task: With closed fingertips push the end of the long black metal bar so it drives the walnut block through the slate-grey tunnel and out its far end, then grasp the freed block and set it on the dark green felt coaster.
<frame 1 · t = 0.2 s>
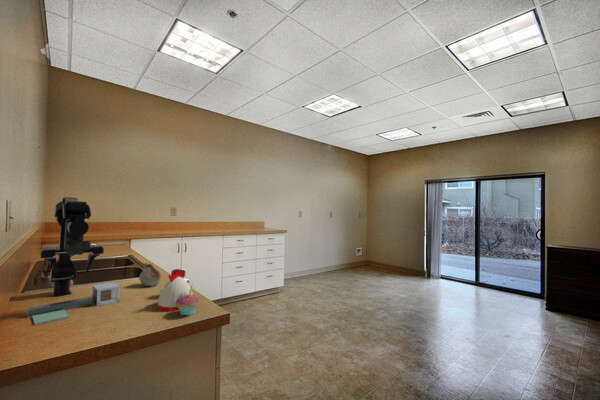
hand: (72, 273, 108), 14 cm above the counter, fingers open, 9 cm apart
cupcake: (186, 314, 109), on the counter
bar: (63, 310, 109), on the counter
fruit: (150, 285, 145), on the counter
block: (102, 302, 119), on the counter
kitchen timer: (175, 305, 118), on the counter
coaster: (50, 317, 101), on the counter
medicine bottle: (177, 295, 130), on the counter
tunnel: (105, 301, 119), on the counter
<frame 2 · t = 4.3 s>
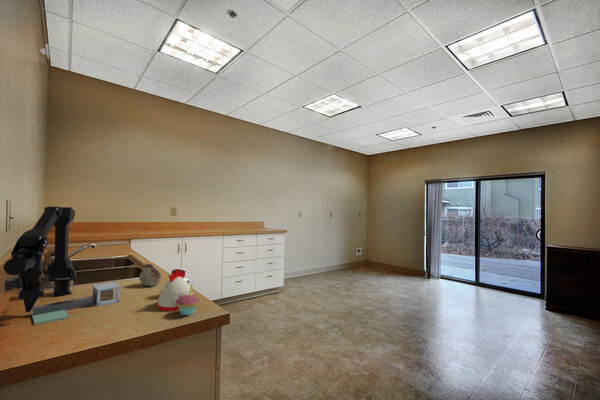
hand: (27, 311, 102), 2 cm above the counter, fingers closed, pressing on bar
bar: (67, 309, 110), on the counter, touching block, gripper
block: (104, 301, 119), on the counter, touching bar
everything else where it was.
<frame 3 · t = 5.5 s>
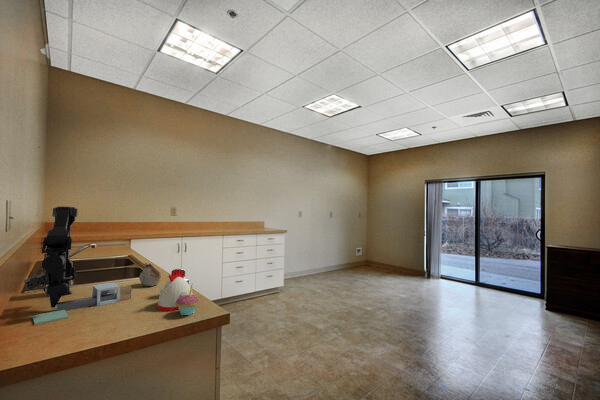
hand: (53, 307, 107), 2 cm above the counter, fingers closed, pressing on bar
bar: (89, 305, 114), on the counter, touching gripper
block: (123, 298, 124), on the counter
everything else where it was.
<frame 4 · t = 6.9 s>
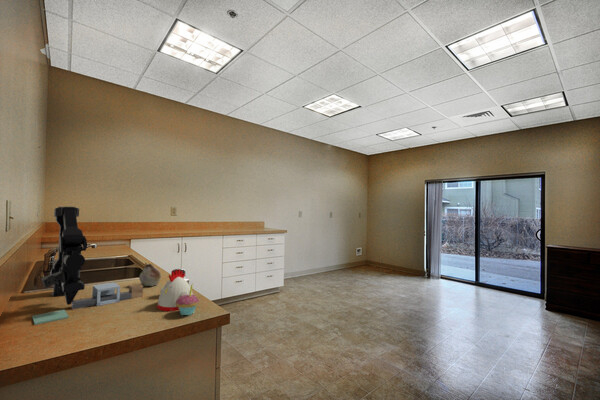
hand: (68, 304, 110), 2 cm above the counter, fingers closed
bar: (102, 303, 117), on the counter, touching block
block: (135, 296, 127), on the counter, touching bar
everything else where it was.
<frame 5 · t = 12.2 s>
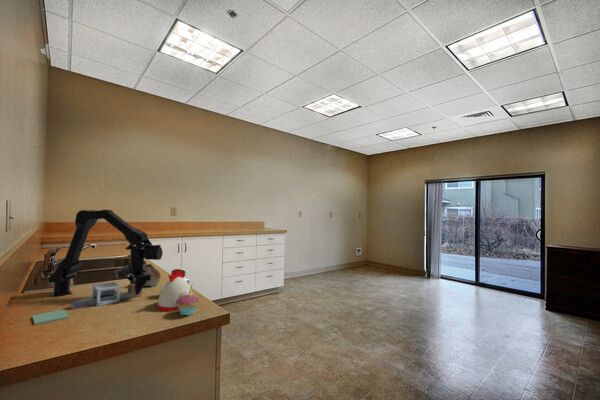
hand: (135, 293, 128), 1 cm above the counter, fingers closed on block, 4 cm apart
bar: (102, 303, 117), on the counter
block: (134, 295, 128), on the counter, touching gripper
everything else where it was.
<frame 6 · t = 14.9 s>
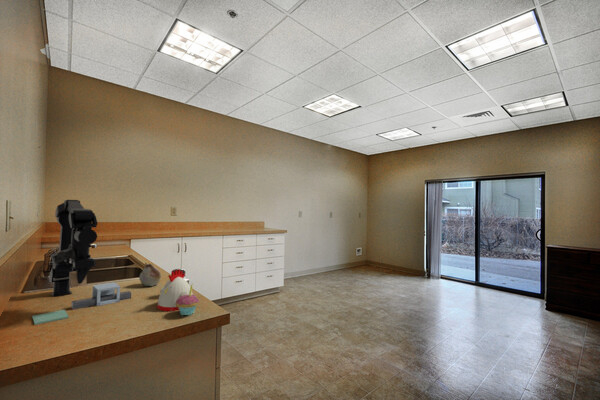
hand: (78, 282, 108), 11 cm above the counter, fingers closed on block, 4 cm apart
block: (77, 285, 108), point 10 cm above the counter, touching gripper
everything else where it was.
when the fingers open (3 cm above the counter, at t = 17.3 s): block drops 1 cm, resting on coaster.
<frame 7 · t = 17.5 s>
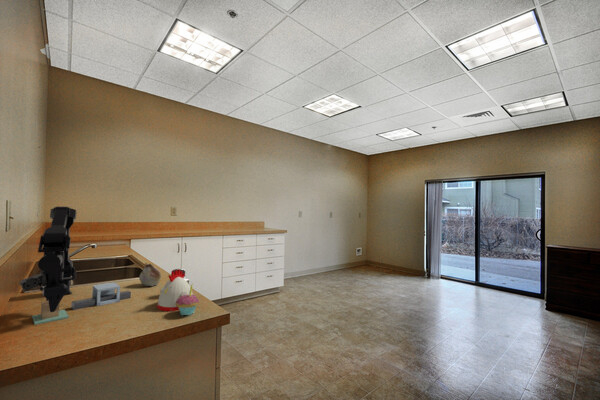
hand: (51, 309, 101), 3 cm above the counter, fingers open, 7 cm apart
block: (49, 316, 101), point 1 cm above the counter, touching coaster
everything else where it was.
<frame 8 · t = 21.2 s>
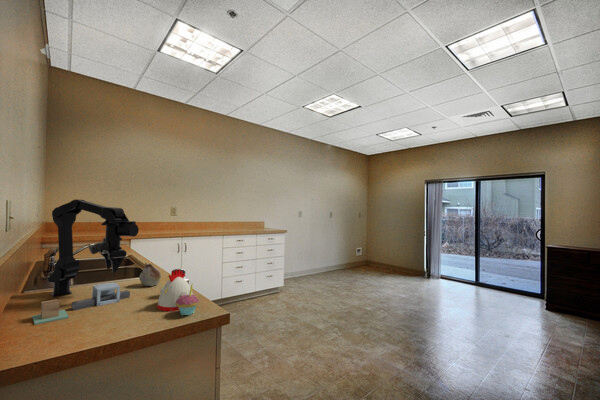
hand: (111, 270, 124), 12 cm above the counter, fingers open, 9 cm apart
at the end: block inside the target area on the coaster (0.2 cm from its centre), point 0.6 cm above the coaster's base; block tilted 0°; the gripper is holding nothing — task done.
